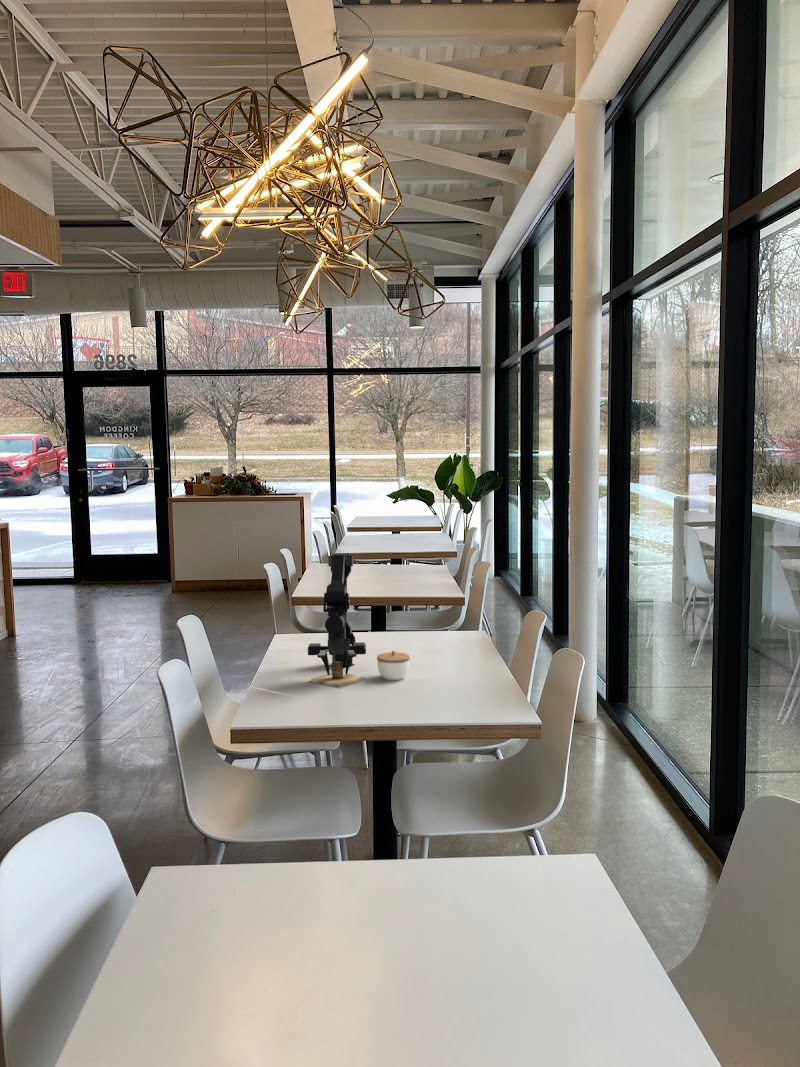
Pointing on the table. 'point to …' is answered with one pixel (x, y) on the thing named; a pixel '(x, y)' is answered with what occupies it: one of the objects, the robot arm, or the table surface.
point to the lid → (337, 676)
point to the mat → (338, 687)
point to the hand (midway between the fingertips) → (337, 674)
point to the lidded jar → (393, 665)
